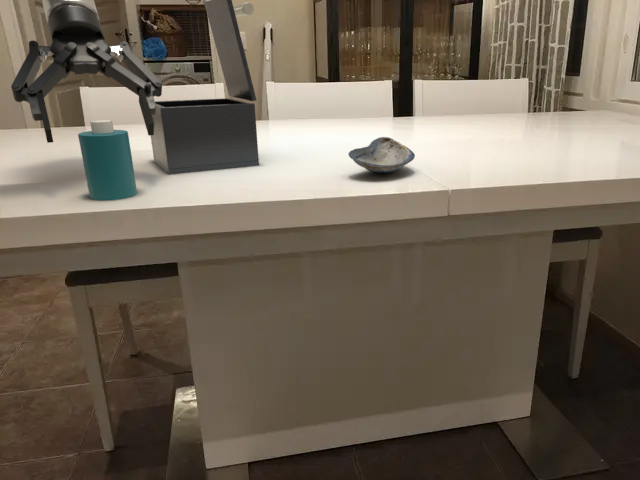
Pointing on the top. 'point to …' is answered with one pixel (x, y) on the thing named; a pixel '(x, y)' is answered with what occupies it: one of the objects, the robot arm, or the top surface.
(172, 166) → the black box
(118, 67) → the robot arm
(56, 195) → the top surface
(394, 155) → the seashell
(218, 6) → the box lid
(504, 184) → the top surface
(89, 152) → the detergent bottle
